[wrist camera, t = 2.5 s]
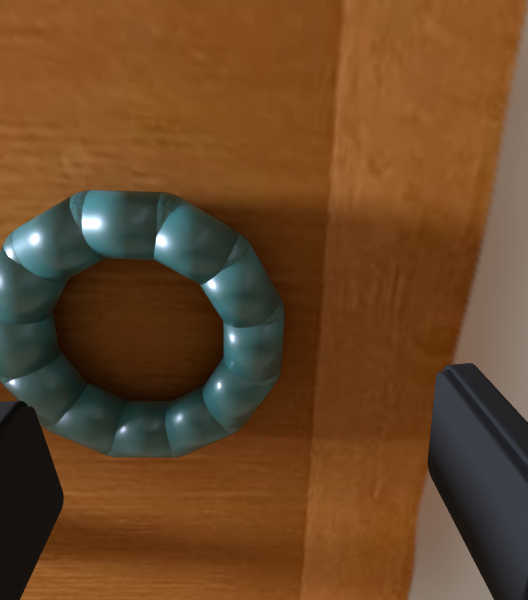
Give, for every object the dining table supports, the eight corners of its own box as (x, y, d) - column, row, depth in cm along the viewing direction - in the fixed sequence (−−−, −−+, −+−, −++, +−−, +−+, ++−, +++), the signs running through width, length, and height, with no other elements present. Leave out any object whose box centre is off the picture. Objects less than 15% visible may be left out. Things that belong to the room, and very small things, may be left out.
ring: (189, 127, 13) (179, 130, 11) (325, 368, 16) (334, 401, 15) (-58, 273, 14) (-102, 297, 13) (114, 465, 18) (99, 505, 16)
